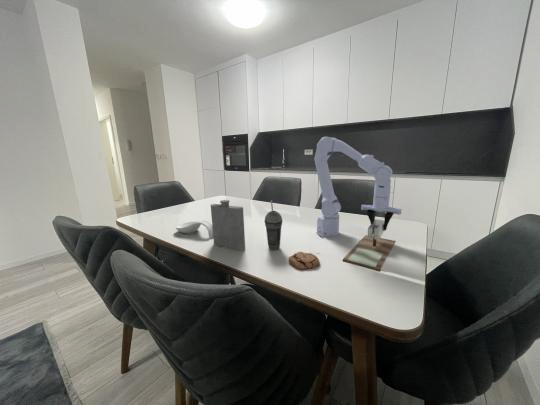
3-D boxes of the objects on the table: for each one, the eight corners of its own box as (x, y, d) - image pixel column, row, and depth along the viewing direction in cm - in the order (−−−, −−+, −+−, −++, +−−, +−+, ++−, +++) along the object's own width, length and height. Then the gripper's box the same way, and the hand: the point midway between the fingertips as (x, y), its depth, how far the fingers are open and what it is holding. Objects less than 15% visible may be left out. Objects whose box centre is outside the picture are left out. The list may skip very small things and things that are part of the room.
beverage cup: (270, 253, 86) (268, 203, 82) (262, 246, 92) (260, 199, 88) (286, 249, 89) (285, 200, 85) (277, 243, 96) (276, 197, 91)
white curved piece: (171, 233, 112) (169, 220, 110) (190, 226, 122) (189, 214, 120) (205, 241, 100) (203, 226, 98) (222, 233, 110) (221, 219, 108)
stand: (380, 271, 71) (381, 254, 69) (342, 261, 78) (343, 245, 77) (395, 243, 92) (397, 229, 91) (365, 237, 99) (366, 224, 98)
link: (374, 228, 94) (375, 219, 93) (385, 229, 92) (385, 220, 91) (367, 237, 86) (368, 228, 85) (378, 240, 84) (379, 230, 83)
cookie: (322, 269, 73) (322, 261, 73) (291, 271, 73) (290, 263, 72) (315, 256, 83) (315, 248, 82) (287, 257, 83) (286, 250, 82)
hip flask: (246, 248, 91) (244, 200, 87) (241, 251, 88) (238, 202, 84) (217, 241, 99) (213, 197, 95) (210, 245, 96) (206, 199, 91)
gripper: (404, 196, 87) (400, 229, 90) (365, 193, 96) (363, 223, 99) (401, 199, 82) (397, 234, 85) (360, 195, 90) (358, 227, 93)
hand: (378, 228), depth 91 cm, fingers closed on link, 4 cm apart
